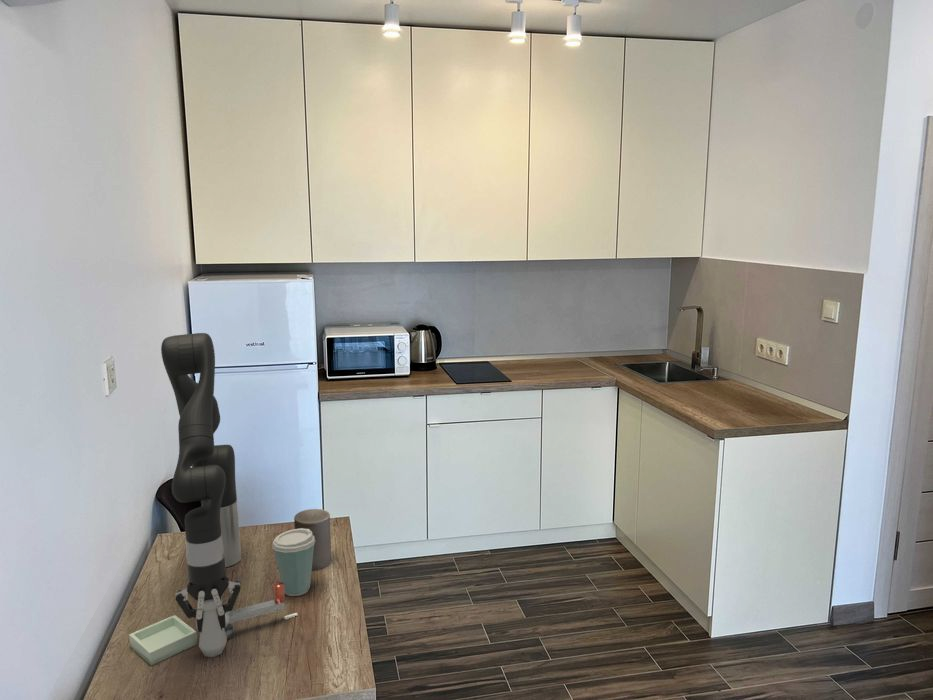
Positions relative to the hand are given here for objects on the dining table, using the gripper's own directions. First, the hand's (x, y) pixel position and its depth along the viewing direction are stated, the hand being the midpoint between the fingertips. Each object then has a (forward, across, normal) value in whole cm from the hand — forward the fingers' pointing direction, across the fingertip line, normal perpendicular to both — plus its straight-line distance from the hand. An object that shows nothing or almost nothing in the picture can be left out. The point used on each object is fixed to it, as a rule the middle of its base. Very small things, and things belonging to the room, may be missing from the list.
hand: (212, 630), depth 153 cm
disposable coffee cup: (+5, -19, -21) cm, 29 cm away
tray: (+5, +11, -6) cm, 13 cm away
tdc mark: (+5, -17, -9) cm, 20 cm away
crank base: (+5, -2, -5) cm, 8 cm away
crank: (+3, -6, -6) cm, 9 cm away
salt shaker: (+5, 0, 0) cm, 5 cm away
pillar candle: (+5, -25, -35) cm, 44 cm away
